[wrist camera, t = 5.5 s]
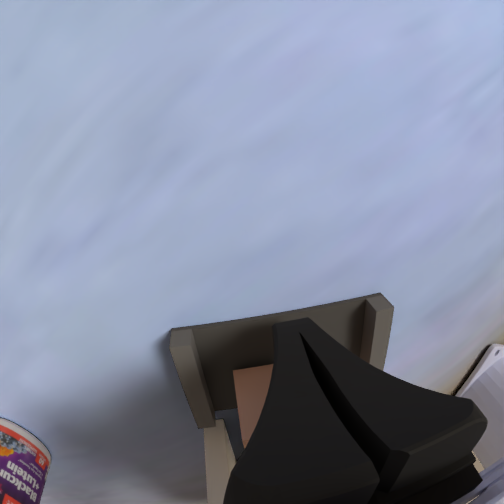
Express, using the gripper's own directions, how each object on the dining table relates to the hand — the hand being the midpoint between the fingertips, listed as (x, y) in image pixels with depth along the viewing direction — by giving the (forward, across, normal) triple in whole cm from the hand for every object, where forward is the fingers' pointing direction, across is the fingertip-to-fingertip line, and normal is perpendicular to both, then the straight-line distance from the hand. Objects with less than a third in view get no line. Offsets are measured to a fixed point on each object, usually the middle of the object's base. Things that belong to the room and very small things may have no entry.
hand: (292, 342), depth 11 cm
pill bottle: (+2, +18, +8) cm, 20 cm away
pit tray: (+1, 0, +2) cm, 3 cm away
